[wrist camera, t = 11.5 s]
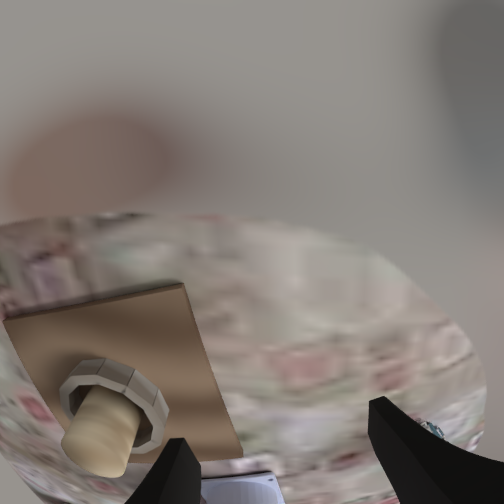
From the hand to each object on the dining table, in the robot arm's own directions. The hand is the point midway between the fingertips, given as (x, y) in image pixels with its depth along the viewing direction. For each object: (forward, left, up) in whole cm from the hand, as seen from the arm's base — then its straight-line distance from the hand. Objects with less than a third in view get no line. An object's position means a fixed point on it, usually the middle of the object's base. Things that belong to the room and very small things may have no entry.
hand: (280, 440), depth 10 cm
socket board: (-4, +12, -9) cm, 16 cm away
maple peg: (-4, +12, -9) cm, 15 cm away
